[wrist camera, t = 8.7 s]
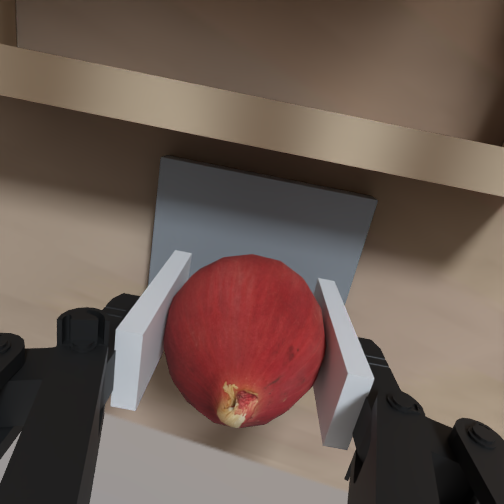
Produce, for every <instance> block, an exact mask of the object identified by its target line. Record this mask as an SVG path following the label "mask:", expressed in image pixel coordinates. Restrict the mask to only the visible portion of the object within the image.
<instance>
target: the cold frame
mask: <svg viewBox="0 0 504 504" xmlns="http://www.w3.org/2000/svg"><path fill="white" fill-rule="evenodd" d="M0 95H2V96H7V97H12V98H17V99H22V100H27V101H32V102H37V103H42V104H47V105H52V106H57V107H62V108H67V109H71V110H76V111H81V112H86V113H91V114H96V115H101V116H106V117H111V118H116V119H121V120H126V121H131V122H136V123H141V124H146V125H151V126H156V127H161V128H166V129H170V130H175V131H180V132H185V133H190V134H195V135H200V136H205V137H210V138H215V139H220V140H225V141H230V142H235V143H240V144H245V145H250V146H255V147H260V148H264V149H269V150H274V151H279V152H284V153H289V154H294V155H299V156H304V157H309V158H314V159H319V160H324V161H329V162H334V163H339V164H344V165H349V166H354V167H359V168H363V169H368V170H373V171H378V172H383V173H388V174H393V175H398V176H403V177H408V178H413V179H418V180H423V181H428V182H433V183H438V184H443V185H448V186H453V187H458V188H462V189H467V190H472V191H477V192H482V193H487V194H492V195H497V196H502V197H504V142H503V145H502V147H500V146H495V145H490V144H485V143H481V142H476V141H471V140H466V139H461V138H456V137H451V136H446V135H442V134H437V133H432V132H427V131H422V130H417V129H412V128H408V127H403V126H398V125H393V124H388V123H383V122H378V121H374V120H369V119H364V118H359V117H354V116H349V115H344V114H339V113H335V112H330V111H325V110H320V109H315V108H310V107H305V106H301V105H296V104H291V103H286V102H281V101H276V100H271V99H266V98H262V97H257V96H252V95H247V94H242V93H237V92H232V91H228V90H223V89H218V88H213V87H208V86H203V85H198V84H193V83H189V82H184V81H179V80H174V79H169V78H164V77H159V76H155V75H150V74H145V73H140V72H135V71H130V70H125V69H121V68H116V67H111V66H106V65H101V64H96V63H91V62H86V61H82V60H77V59H72V58H67V57H62V56H57V55H52V54H48V53H43V52H38V51H33V50H28V49H23V48H18V47H17V36H16V7H15V0H0Z"/></svg>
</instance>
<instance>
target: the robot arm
mask: <svg viewBox="0 0 504 504" xmlns="http://www.w3.org/2000/svg"><path fill="white" fill-rule="evenodd" d="M191 256H192V253H188V252H183V251H178V250H175V251H174V252H173V254H172V255H171V256H170V258H169V259H168V260H167V262H166V263H165V264H164V266H163V267H162V268H161V270H160V271H159V273H158V274H157V275H156V277H155V278H154V279H153V281H152V282H151V283H150V285H149V286H148V287H147V289H146V290H145V291H144V293H143V294H142V295H141V296H136V295H130V294H125V293H123V294H121V295H119V296H117V297H115V298H113V299H112V300H111V301H110V302H109V303H108V304H107V305H106V307H104V309H103V310H99V309H96V308H89V307H86V308H76V309H72V310H68V311H67V312H65V313H63V314H61V315H60V316H59V317H58V319H57V346H56V347H53V348H32V349H25V345H24V340H23V339H22V338H21V337H20V336H18V335H15V334H12V333H0V459H1V458H2V456H3V455H4V453H5V452H6V451H7V450H8V448H9V447H10V446H11V444H12V443H13V441H14V440H15V439H16V437H17V436H18V434H19V433H20V432H21V431H22V432H21V434H20V436H19V439H18V441H17V444H16V447H15V449H14V451H13V454H12V456H11V458H10V461H9V463H8V466H7V468H6V471H5V473H4V476H3V478H2V480H1V483H0V504H89V502H90V497H91V491H92V485H93V478H94V473H95V467H96V461H97V455H98V449H99V443H100V437H101V431H102V425H103V419H104V409H105V403H106V401H107V400H108V398H109V396H110V394H111V393H112V394H111V406H112V407H118V408H123V409H128V410H134V411H136V409H137V407H138V404H139V402H140V400H141V398H142V396H143V394H144V392H145V389H146V387H147V385H148V383H149V381H150V379H151V377H152V374H153V372H154V370H155V368H156V366H157V364H158V362H159V359H160V357H161V355H162V353H163V351H164V332H165V327H166V322H167V317H168V312H169V308H170V305H171V302H172V300H173V297H174V296H175V295H176V293H177V292H178V291H179V290H180V289H181V288H182V286H183V285H184V284H185V283H186V282H187V280H188V278H189V271H190V263H191ZM313 295H314V297H315V299H316V300H317V302H318V304H319V306H320V307H321V310H322V317H323V325H324V333H325V340H326V349H325V355H324V359H323V361H322V364H321V367H320V370H319V373H318V376H317V379H316V381H315V382H314V384H313V388H314V394H315V400H316V406H317V412H318V418H319V424H320V430H321V436H322V442H323V446H328V447H333V448H339V449H344V450H347V449H348V447H349V444H350V442H351V439H352V436H353V438H354V442H355V446H356V451H355V453H354V456H353V458H352V461H351V463H350V466H349V469H348V471H347V474H346V476H345V480H347V481H348V480H349V478H350V482H349V493H348V504H504V440H503V439H502V438H501V437H500V435H498V434H497V433H496V432H495V431H493V430H492V429H491V428H490V427H488V426H487V425H484V424H483V423H481V422H478V421H475V420H473V419H468V418H461V419H458V420H457V421H456V423H455V425H454V426H453V428H451V427H448V426H446V425H444V424H441V423H439V422H436V421H434V420H432V419H430V418H428V417H425V413H424V411H423V408H422V407H421V405H420V404H419V403H418V402H417V401H416V400H415V399H414V398H412V397H411V396H410V395H408V394H406V393H404V392H402V391H401V390H400V388H399V386H398V384H397V382H396V380H395V378H394V376H393V374H392V372H391V369H390V368H389V365H388V363H387V361H386V360H385V357H384V355H383V353H382V351H381V349H380V348H379V347H378V346H377V345H376V344H375V343H374V342H373V341H372V340H370V339H365V338H359V337H357V335H356V332H355V330H354V328H353V325H352V323H351V320H350V318H349V315H348V313H347V311H346V308H345V306H344V303H343V301H342V298H341V296H340V293H339V291H338V289H337V286H336V284H335V281H331V280H326V279H321V278H318V280H317V283H316V287H315V291H314V294H313Z"/></svg>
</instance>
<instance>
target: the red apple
mask: <svg viewBox="0 0 504 504" xmlns="http://www.w3.org/2000/svg"><path fill="white" fill-rule="evenodd" d="M325 349H326V340H325V333H324V325H323V317H322V310H321V307H320V306H319V304H318V302H317V300H316V299H315V297H314V295H313V293H312V292H311V290H310V288H309V286H308V285H307V283H306V282H305V280H304V279H303V277H301V276H300V275H299V274H297V273H296V272H295V271H293V270H292V269H291V268H289V267H288V266H287V265H285V264H284V263H283V262H282V261H279V260H275V259H271V258H267V257H263V256H258V255H254V254H248V255H239V256H229V257H223V258H221V259H219V260H217V261H215V262H213V263H211V264H209V265H207V266H204V267H202V268H200V269H199V270H198V271H197V272H195V273H194V274H193V275H192V276H191V277H190V278H189V279H188V280H187V282H186V283H185V284H184V285H183V286H182V288H181V289H180V290H179V291H178V292H177V293H176V295H175V296H174V297H173V300H172V302H171V305H170V308H169V312H168V317H167V322H166V327H165V332H164V351H165V355H166V359H167V364H168V368H169V373H170V375H171V378H172V380H173V382H174V383H175V385H176V386H177V388H178V389H179V391H180V392H181V394H182V395H183V396H184V398H185V399H186V401H187V402H188V403H189V404H191V405H192V406H193V407H194V408H196V409H197V410H198V411H199V412H200V413H202V414H203V415H204V416H206V417H207V418H208V419H210V420H211V421H212V422H214V423H218V424H222V425H226V426H230V427H234V428H243V427H250V426H258V425H264V424H267V423H268V422H270V421H271V420H273V419H275V418H276V417H278V416H280V415H282V414H283V413H285V412H286V411H288V410H289V409H290V408H291V407H292V406H293V405H294V404H295V403H296V402H297V401H298V400H299V399H300V398H301V397H302V396H303V395H304V394H305V393H306V392H307V391H308V390H309V389H310V388H311V387H312V386H313V384H314V382H315V381H316V379H317V376H318V373H319V370H320V367H321V364H322V361H323V359H324V355H325Z"/></svg>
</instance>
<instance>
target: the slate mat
mask: <svg viewBox="0 0 504 504" xmlns="http://www.w3.org/2000/svg"><path fill="white" fill-rule="evenodd" d="M377 202H378V200H377V199H375V198H374V197H372V196H369V195H364V194H359V193H354V192H349V191H344V190H339V189H334V188H329V187H324V186H319V185H314V184H309V183H304V182H299V181H294V180H289V179H284V178H279V177H274V176H269V175H264V174H259V173H254V172H249V171H244V170H239V169H234V168H229V167H224V166H219V165H214V164H209V163H204V162H199V161H194V160H189V159H184V158H179V157H174V156H169V155H166V156H162V157H161V160H160V171H159V181H158V191H157V201H156V211H155V221H154V231H153V242H152V252H151V262H150V272H149V282H148V286H149V285H150V283H151V282H152V281H153V279H154V278H155V277H156V275H157V274H158V273H159V271H160V270H161V268H162V267H163V266H164V264H165V263H166V262H167V260H168V259H169V258H170V256H171V255H172V254H173V252H174V251H175V250H178V251H183V252H188V253H192V256H191V263H190V271H189V278H190V277H191V276H192V275H193V274H194V273H195V272H197V271H198V270H199V269H200V268H202V267H204V266H207V265H209V264H211V263H213V262H215V261H217V260H219V259H221V258H223V257H229V256H239V255H248V254H254V255H258V256H263V257H267V258H271V259H275V260H279V261H282V262H283V263H284V264H285V265H287V266H288V267H289V268H291V269H292V270H293V271H295V272H296V273H297V274H299V275H300V276H301V277H303V279H304V280H305V282H306V283H307V285H308V286H309V288H310V290H311V292H312V293H313V294H314V291H315V287H316V283H317V280H318V278H321V279H326V280H331V281H335V284H336V286H337V289H338V291H339V293H340V296H341V298H342V301H343V303H344V306H345V303H346V299H347V296H348V293H349V290H350V287H351V284H352V281H353V278H354V274H355V271H356V268H357V265H358V262H359V259H360V256H361V252H362V249H363V246H364V243H365V240H366V237H367V234H368V230H369V227H370V224H371V221H372V218H373V215H374V212H375V208H376V205H377ZM189 278H188V279H189Z"/></svg>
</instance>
